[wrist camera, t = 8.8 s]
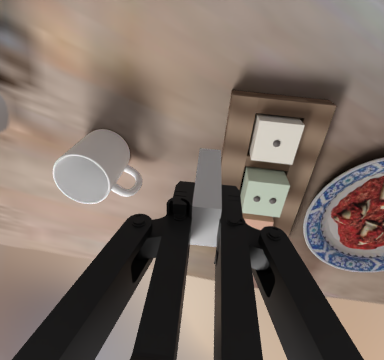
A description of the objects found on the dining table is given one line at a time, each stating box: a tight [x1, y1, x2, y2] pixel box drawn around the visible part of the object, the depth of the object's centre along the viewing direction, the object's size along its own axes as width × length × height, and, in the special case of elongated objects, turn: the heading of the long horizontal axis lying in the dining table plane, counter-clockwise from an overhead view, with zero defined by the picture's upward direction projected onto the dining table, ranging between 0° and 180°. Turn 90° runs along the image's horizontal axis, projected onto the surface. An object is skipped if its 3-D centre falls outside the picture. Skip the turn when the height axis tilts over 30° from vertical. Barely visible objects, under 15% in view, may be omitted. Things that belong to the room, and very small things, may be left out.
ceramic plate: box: [303, 157, 384, 272], centre depth 46 cm, size 26×26×3 cm
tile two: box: [240, 166, 290, 218], centre depth 41 cm, size 6×6×4 cm
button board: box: [221, 90, 337, 236], centre depth 44 cm, size 28×14×3 cm, turn 175°
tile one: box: [249, 113, 305, 165], centre depth 38 cm, size 6×6×4 cm
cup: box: [53, 129, 142, 204], centre depth 42 cm, size 8×12×10 cm
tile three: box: [242, 213, 274, 230], centre depth 47 cm, size 6×6×4 cm
